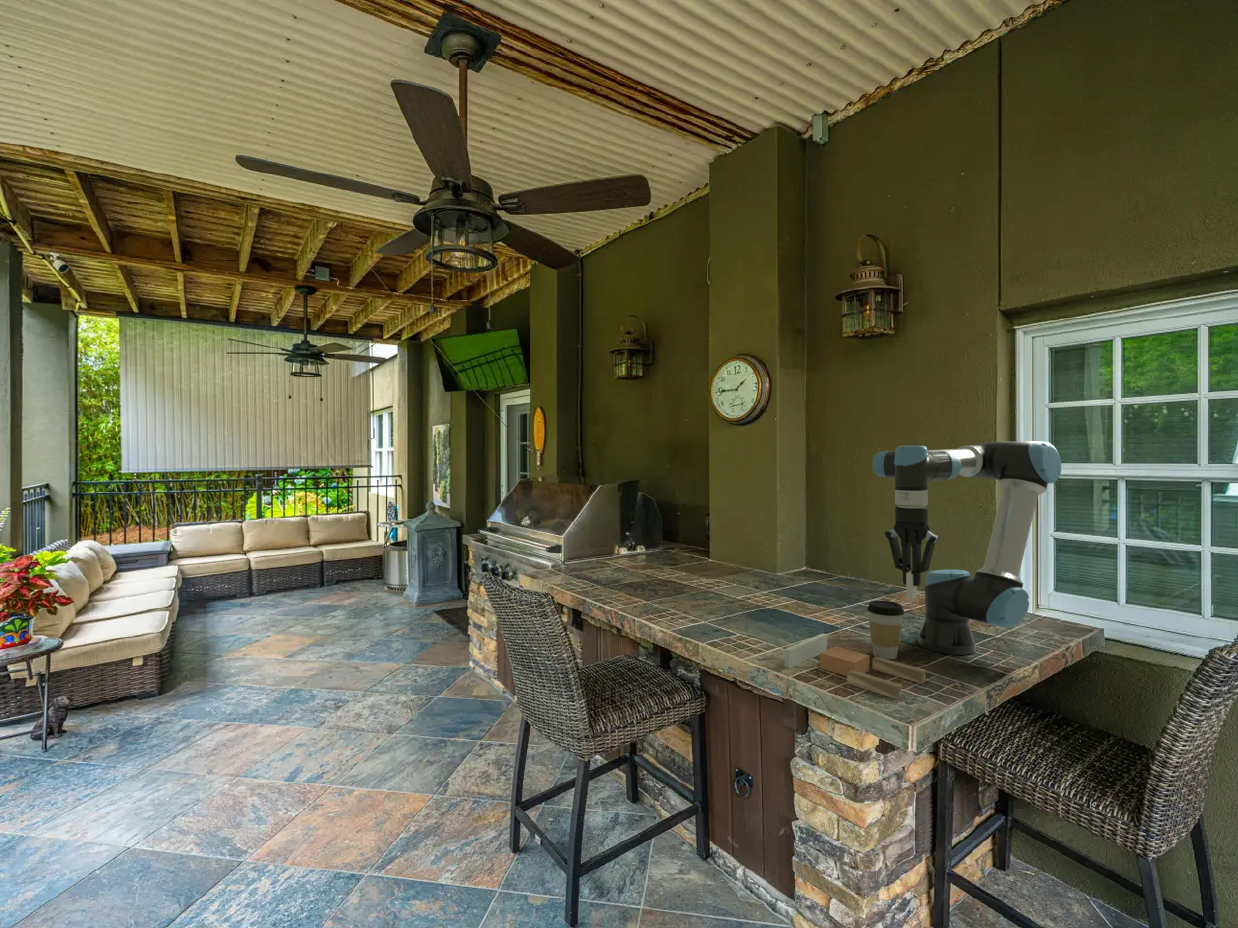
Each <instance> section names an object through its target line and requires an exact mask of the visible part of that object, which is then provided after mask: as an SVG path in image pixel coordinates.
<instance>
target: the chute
mask: <svg viewBox="0 0 1238 928" xmlns="http://www.w3.org/2000/svg"><path fill="white" fill-rule="evenodd" d="M872 670H873V671H876V672H880V673H884V674H887V675H891V676H893V677H898V678H902V679H905V680H909V681H913V682H916V683H918V684H924V683H925V682H926V669H923V668H920V667H915V666H913V665H909V664H908V665H907V664H905V663H901V662H897V661H892V660H891V659H882V658H879V657H876V656H874V657H873V658H872ZM846 683H847V685H851V686H855V687H858V688H860V689H864V690H867V691H870V692H873V693H877V694H880V695H883V696H886V697H889V698H892V699H896V700H900V699H901V698H902V697H903V684H900V683H896V682H893V681H890V680H887V679H884V678H880V677H876V676H873V675H870V674H866V673H864V674H863V673H860V672H856V671H853V670H850V671H848V672H847V676H846Z"/></svg>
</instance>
